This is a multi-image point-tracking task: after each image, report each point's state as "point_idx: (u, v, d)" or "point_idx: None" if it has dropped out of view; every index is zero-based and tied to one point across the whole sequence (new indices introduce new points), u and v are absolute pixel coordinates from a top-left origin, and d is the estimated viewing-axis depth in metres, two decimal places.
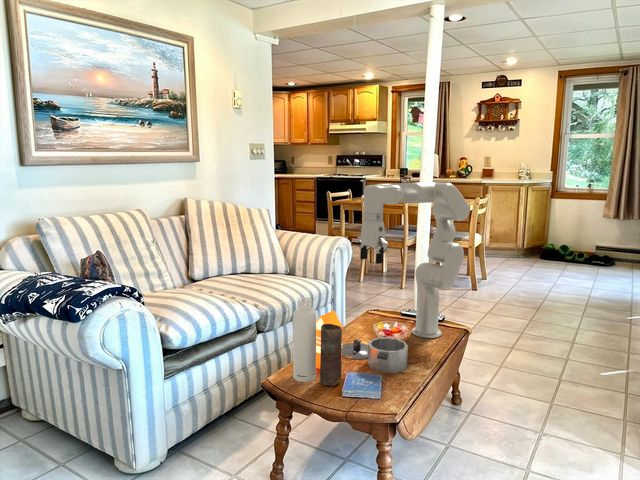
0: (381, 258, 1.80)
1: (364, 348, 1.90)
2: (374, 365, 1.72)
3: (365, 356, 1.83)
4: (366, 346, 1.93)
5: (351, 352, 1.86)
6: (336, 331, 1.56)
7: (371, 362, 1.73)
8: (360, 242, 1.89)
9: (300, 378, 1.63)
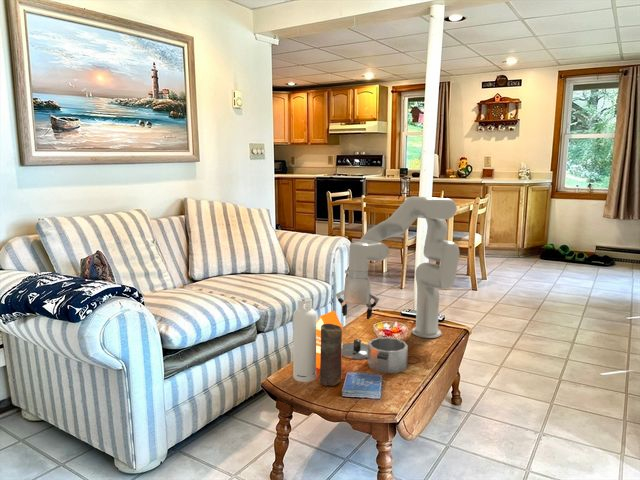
0: None
1: (364, 348, 1.90)
2: (374, 365, 1.72)
3: (365, 356, 1.83)
4: (366, 346, 1.93)
5: (351, 352, 1.86)
6: (336, 331, 1.56)
7: (371, 362, 1.73)
8: (374, 302, 1.83)
9: (300, 378, 1.63)
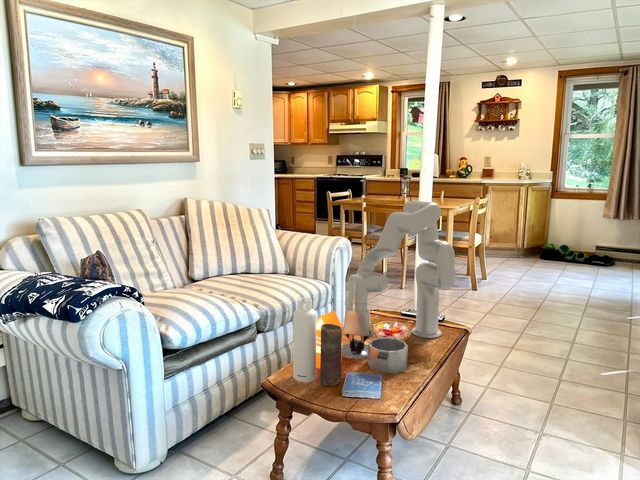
0: None
1: (364, 348, 1.91)
2: (374, 365, 1.72)
3: (365, 356, 1.83)
4: (366, 346, 1.93)
5: (351, 352, 1.86)
6: (336, 331, 1.56)
7: (371, 362, 1.73)
8: (366, 335, 1.87)
9: (300, 378, 1.63)
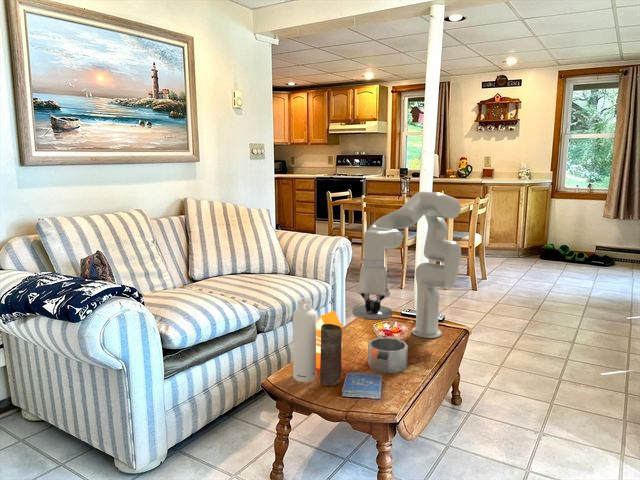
0: None
1: (380, 309, 1.81)
2: (374, 365, 1.72)
3: (382, 316, 1.74)
4: (382, 307, 1.84)
5: (367, 312, 1.77)
6: (336, 331, 1.56)
7: (371, 362, 1.73)
8: (382, 294, 1.78)
9: (300, 378, 1.63)
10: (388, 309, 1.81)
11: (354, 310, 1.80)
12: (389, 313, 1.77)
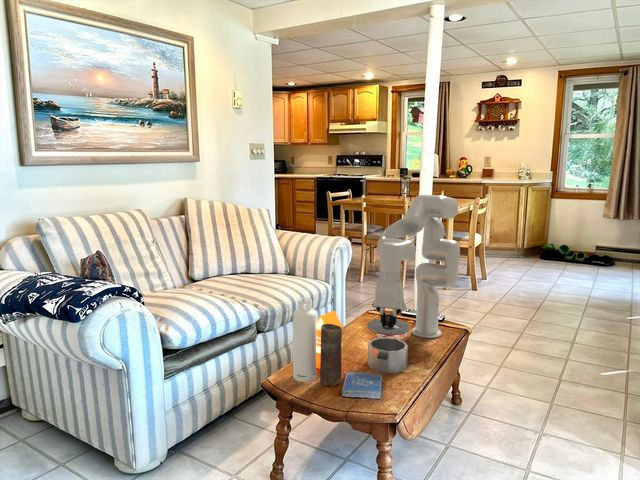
0: None
1: None
2: (374, 365, 1.72)
3: (399, 330, 1.68)
4: (397, 321, 1.78)
5: (383, 327, 1.72)
6: (336, 331, 1.56)
7: (371, 362, 1.73)
8: (398, 308, 1.72)
9: (300, 378, 1.63)
10: (404, 323, 1.76)
11: (369, 324, 1.74)
12: (406, 328, 1.71)
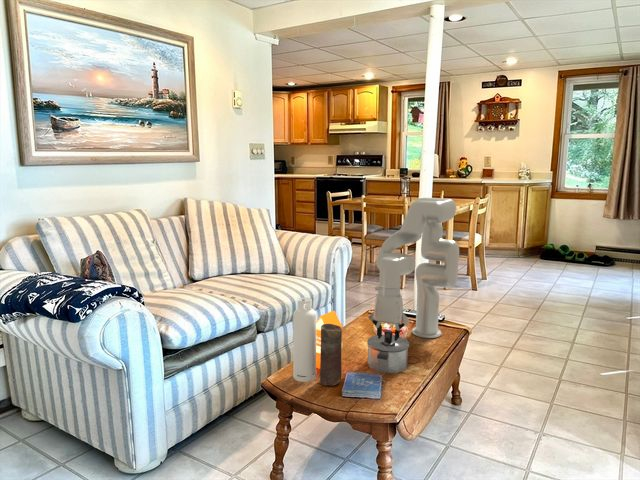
0: None
1: None
2: (374, 365, 1.72)
3: (399, 348, 1.69)
4: None
5: (382, 344, 1.73)
6: (336, 331, 1.56)
7: (371, 362, 1.73)
8: (402, 322, 1.73)
9: (300, 378, 1.63)
10: (404, 340, 1.77)
11: (369, 341, 1.75)
12: (406, 344, 1.72)
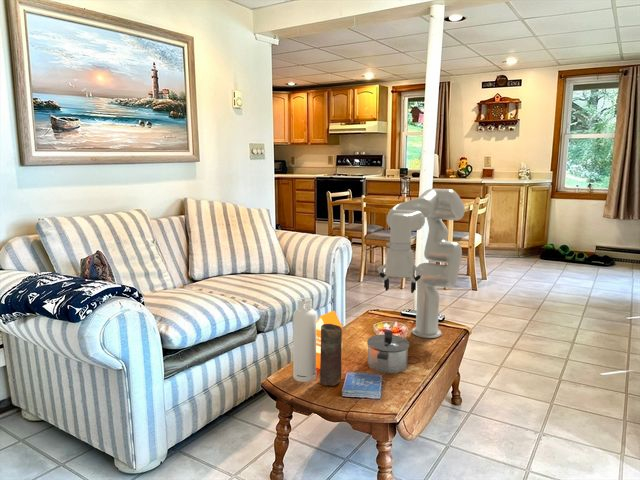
0: None
1: (395, 339, 1.77)
2: (374, 365, 1.72)
3: (399, 348, 1.69)
4: (397, 337, 1.79)
5: (382, 344, 1.73)
6: (336, 331, 1.56)
7: (371, 362, 1.73)
8: (418, 275, 1.76)
9: (300, 378, 1.63)
10: (404, 340, 1.77)
11: (369, 341, 1.75)
12: (406, 344, 1.72)
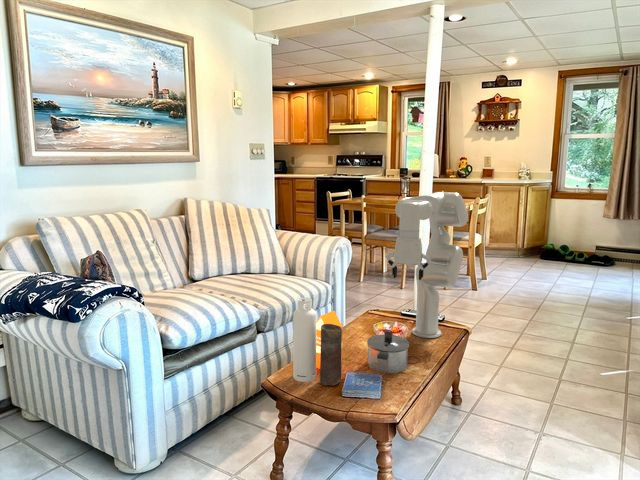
0: None
1: (395, 339, 1.77)
2: (374, 365, 1.72)
3: (399, 348, 1.69)
4: (397, 337, 1.79)
5: (382, 344, 1.73)
6: (336, 331, 1.56)
7: (371, 362, 1.73)
8: None
9: (300, 378, 1.63)
10: (404, 340, 1.77)
11: (369, 341, 1.75)
12: (406, 344, 1.72)
